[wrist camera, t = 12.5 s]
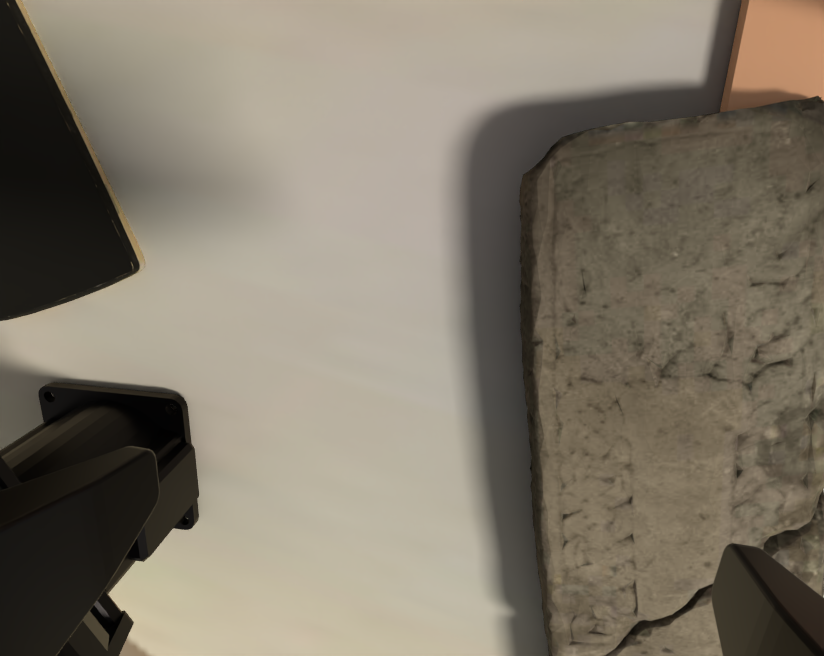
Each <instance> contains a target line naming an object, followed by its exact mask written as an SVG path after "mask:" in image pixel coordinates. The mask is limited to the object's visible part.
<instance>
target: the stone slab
mask: <svg viewBox="0 0 824 656" xmlns="http://www.w3.org/2000/svg"><path fill="white" fill-rule="evenodd" d="M821 98H822V97H819V96H815V97H811V98H807V99H802V100H789V101H783V102H778V103H773V104H768V105H764V106H759V107H753V108H743V109H737V110H731V111H725V112H719V113H714V114H708V115H702V116H696V117H687V118H678V119H669V120H661V121H652V122H625V123H620V124H615V125H609V126H604V127H599V128H594V129H590V130H585V131H582V132H578V133H575V134H572V135H568V136H565V137H562V138H561V139H560V140H559V141H558V142H556V143H555V144H554V145H553V146H552V147H551V148H550V150H549V151H548V152H547V154H546V155H545V156H544V158H543V159H542V160H541V161H540V162H539V163H538V164H537V165H536V166H535V167H533V168H532V169H531V170H530V171H528V172H527V173H525V174H524V175H523V178H522V182H521V187H520V199H519V203H520V206H521V215H520V219H521V243H520V244H521V257H520V263H521V264H522V267H521V277H522V281H521V304H520V313H521V336H522V363H523V369H524V374H523V378H524V384H525V398H526V404H527V408H528V411H527V419H528V428H529V441H530V448H531V456H532V458H531V468H530V469H531V473H532V482H531V491H532V507H533V525H534V531H535V542H536V549H537V563H538V574H539V578H540V584H541V589H542V609H543V614H544V626H545V633H546V636H547V640H548V647H549V656H723V654H722V649H721V644H720V639H719V635H718V630H717V625H716V620H715V615H714V611H713V606H712V597H711V595H712V586H713V582H714V579H715V576H716V573H717V570H718V567H719V563H720V560H721V557H722V554H723V551H724V549H725V547H726V546H727V545H728V544H731V543H736V544H742V545H749V546H755V547H758V548H761V549H762V550H764V551H765V552H766V553H768V554H769V555H770V556H771V557H773V558H774V559H775V560H776V561H778V562H779V563H780V564H782V565H783V566H784V567H785V568H787V569H788V570H789V571H790V572H792V573H793V574H794V575H795V576H797V577H798V578H799V579H801V580H802V581H803V582H804V583H806V584H807V585H808V586H809V587H811V588H812V589H813V590H814V591H816V592H817V593H818V594H820V595H821V596H822V597H823V595H824V492H823V488H824V101H823V100H822V99H821Z"/></svg>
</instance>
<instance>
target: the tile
mask: <svg viewBox="0 0 824 656" xmlns="http://www.w3.org/2000/svg"><path fill="white" fill-rule="evenodd" d="M815 96H819V97H822V98H821V99H822V100H823V101H824V0H742V2H741V7H740V12H739V17H738V22H737V27H736V32H735V37H734V42H733V47H732V52H731V57H730V62H729V67H728V72H727V77H726V82H725V87H724V92H723V97H722V102H721V107H720V112H725V111H731V110H737V109H743V108H753V107H759V106H764V105H768V104H773V103H778V102H783V101H789V100H802V99H807V98H811V97H815Z"/></svg>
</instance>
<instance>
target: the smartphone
mask: <svg viewBox="0 0 824 656" xmlns="http://www.w3.org/2000/svg"><path fill="white" fill-rule="evenodd" d="M144 267H145V260H144V257H143V254H142V252H141V250H140V247H139V245H138V243H137V240H136V238H135V236H134V234H133V232H132V230H131V228H130V226H129V224H128V222H127V219H126V217H125V215H124V213H123V211H122V209H121V207H120V205H119V203H118V201H117V199H116V197H115V194H114V192H113V190H112V188H111V186H110V184H109V182H108V180H107V178H106V176H105V174H104V172H103V169H102V167H101V165H100V163H99V161H98V159H97V157H96V155H95V153H94V151H93V149H92V147H91V145H90V142H89V140H88V138H87V136H86V134H85V132H84V130H83V128H82V126H81V124H80V122H79V120H78V118H77V115H76V113H75V111H74V109H73V107H72V105H71V103H70V101H69V99H68V97H67V95H66V93H65V90H64V88H63V86H62V84H61V82H60V80H59V78H58V76H57V74H56V72H55V70H54V68H53V66H52V63H51V61H50V59H49V57H48V55H47V53H46V51H45V49H44V47H43V45H42V43H41V41H40V39H39V36H38V34H37V32H36V30H35V28H34V26H33V24H32V22H31V20H30V18H29V16H28V14H27V12H26V9H25V7H24V5H23V3H22V1H21V0H0V321H3V320H9V319H13V318H17V317H21V316H25V315H29V314H32V313H36V312H39V311H42V310H45V309H48V308H51V307H54V306H57V305H60V304H64V303H67V302H69V301H72V300H75V299H77V298H80V297H83V296H85V295H88V294H90V293H93V292H96V291H98V290H101V289H103V288H106V287H108V286H110V285H113V284H115V283H117V282H119V281H121V280H124V279H126V278H128V277H130V276H132V275H134V274H136V273H137V272H139V271H141V270H142V269H143V268H144ZM80 292H81V293H80Z"/></svg>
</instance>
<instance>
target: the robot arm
mask: <svg viewBox="0 0 824 656" xmlns="http://www.w3.org/2000/svg"><path fill="white" fill-rule="evenodd" d="M51 393H53V394H54V396H55V397H53V396H52V394H51ZM39 400H40V405H41V410H42V415H43V420H44V423H43V424H41V425H39V426H38V427H36V428H35V429H33V430H32V431H30V432H29V433H27V434H25V435H24V436H22V437H21V438H19V439H18V440H16V441H15V442H13V443H11V444H10V445H8V446H7V447H5V448H4V449H2V450H1V451H0V656H119V654H120V652H121V650H122V647H123V645H124V643H125V641H126V639H127V636H128V634H129V632H130V630H131V628H132V625H133V623H134V622H133V621H132V619H131V618H130V617H129V615H128V614H127V613H126V612H125V611H121V610H120V609H119V608H118V606H117V605H116V604H115V602H114V601H113V600H112V599H111V597H110V596H109V595H108V593H109V592H110V591H111V590H112V589H113V587H114V586H115V585H116V584H117V583H118V581H119V580H120V579H121V578H122V577H123V575H124V574H125V573H126V572H127V571H128V570H129V568H130V567H131V566H132V565H133V564H134V562H135V561H143V562H144V561H145V560H146V559H147V558H148V557H150V556H151V555H152V553H153V552H154V551H155V550H156V548H157V547H158V546H159V545H160V543H161V542H162V541H163V540H164V539H165V537H166V536H167V535H168V534H169V532H170V531H171V530H172V529H173V528H176V529H184V530H188V529H191V528H192V527H193V526H194V525H195V523H196V522H197V521H198V518H199V513H198V503H197V498H198V497H199V489H198V479H197V469H196V459H195V449H194V447H193V445H192V444H191V435H190V426H189V416H188V406H187V403H186V401H185V400H184V398H182V397H181V396H179V395H176V394H166V393H156V392H146V391H136V390H126V389H116V388H106V387H96V386H86V385H76V384H66V383H56V382H53V383H49V384H47V385H45V386H44V387H42V388H41V389H40V390H39ZM170 404H172V405H174V406H175V407H176V409H177V411H176V410H174V409H173V408H172V407H171V405H170ZM184 516H186V517H187V518H188V519H186V518H185V517H184ZM711 597H712V606H713V611H714V615H715V620H716V625H717V630H718V635H719V639H720V644H721V649H722V654H723V656H824V598H823V597H822V596H821V595H820V594H818V593H817V592H816V591H814V590H813V589H812V588H811V587H809V586H808V585H807V584H806V583H804V582H803V581H802V580H801V579H799V578H798V577H797V576H795V575H794V574H793V573H792V572H790V571H789V570H788V569H787V568H785V567H784V566H783V565H782V564H780V563H779V562H778V561H776V560H775V559H774V558H773V557H771V556H770V555H769V554H768V553H766V552H765V551H764V550H762V549H761V548H758V547H755V546H749V545H742V544H736V543H731V544H728V545H727V546H726V547H725V549H724V551H723V554H722V557H721V560H720V563H719V567H718V570H717V573H716V576H715V579H714V582H713V586H712V595H711Z"/></svg>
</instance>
